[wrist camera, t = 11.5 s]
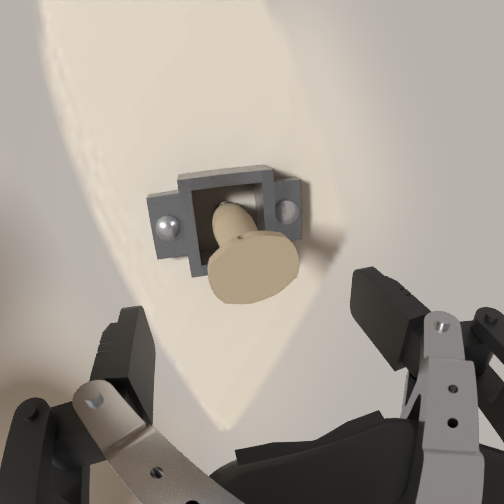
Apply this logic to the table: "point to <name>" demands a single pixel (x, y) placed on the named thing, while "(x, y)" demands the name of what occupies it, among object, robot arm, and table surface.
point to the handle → (248, 258)
